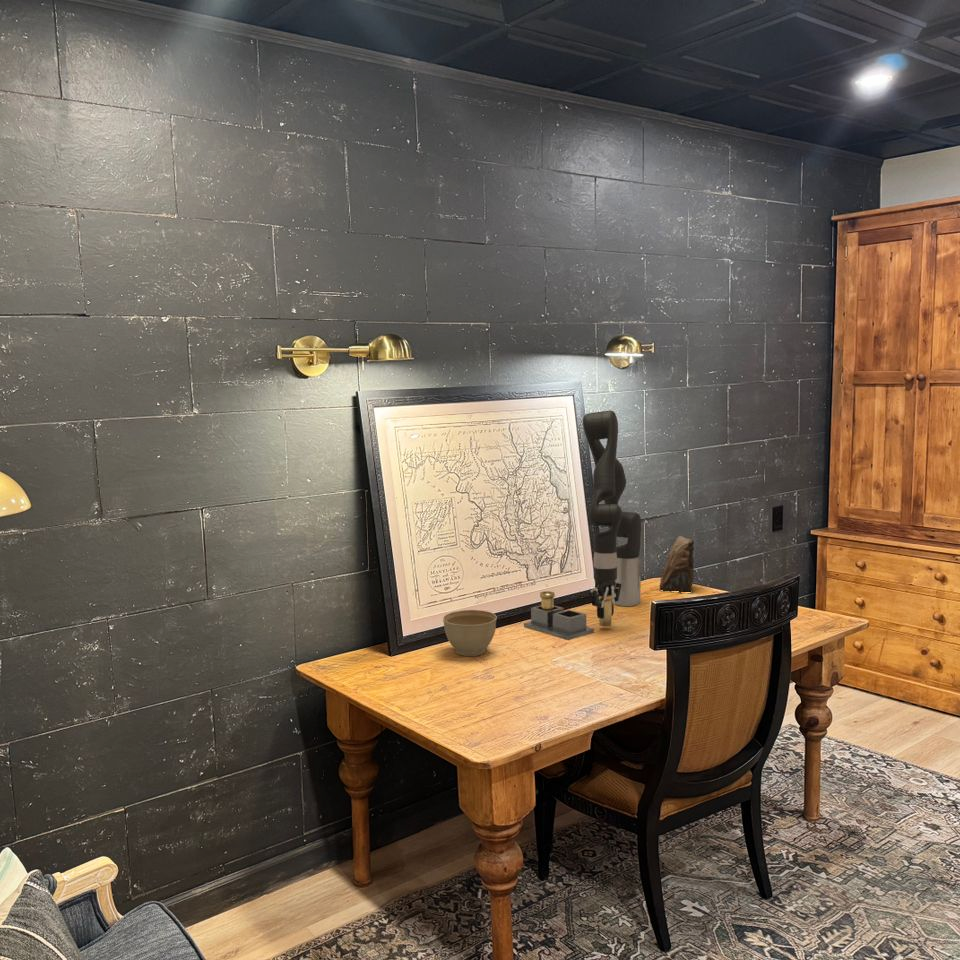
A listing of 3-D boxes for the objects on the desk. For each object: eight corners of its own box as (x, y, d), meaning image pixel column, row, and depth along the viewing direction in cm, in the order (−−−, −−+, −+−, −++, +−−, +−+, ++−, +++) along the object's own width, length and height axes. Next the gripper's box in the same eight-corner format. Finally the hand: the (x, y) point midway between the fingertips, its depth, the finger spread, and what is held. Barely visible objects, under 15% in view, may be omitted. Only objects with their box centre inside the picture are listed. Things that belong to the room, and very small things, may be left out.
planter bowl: (438, 646, 280) (437, 612, 278) (488, 641, 284) (488, 607, 282) (450, 662, 264) (449, 626, 263) (503, 657, 268) (503, 621, 267)
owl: (674, 584, 354) (675, 533, 351) (704, 589, 345) (705, 537, 343) (657, 590, 345) (658, 538, 342) (687, 596, 336) (688, 542, 334)
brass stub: (604, 621, 299) (604, 592, 297) (615, 624, 295) (615, 594, 294) (594, 624, 296) (594, 594, 294) (606, 627, 292) (606, 597, 291)
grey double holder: (549, 619, 307) (549, 587, 306) (593, 632, 292) (593, 598, 291) (523, 626, 299) (523, 593, 298) (568, 639, 284) (568, 605, 283)
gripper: (610, 559, 300) (610, 610, 303) (581, 567, 291) (582, 618, 293) (628, 563, 295) (628, 614, 297) (599, 570, 285) (599, 623, 288)
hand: (605, 616), depth 295 cm, fingers closed on brass stub, 4 cm apart
